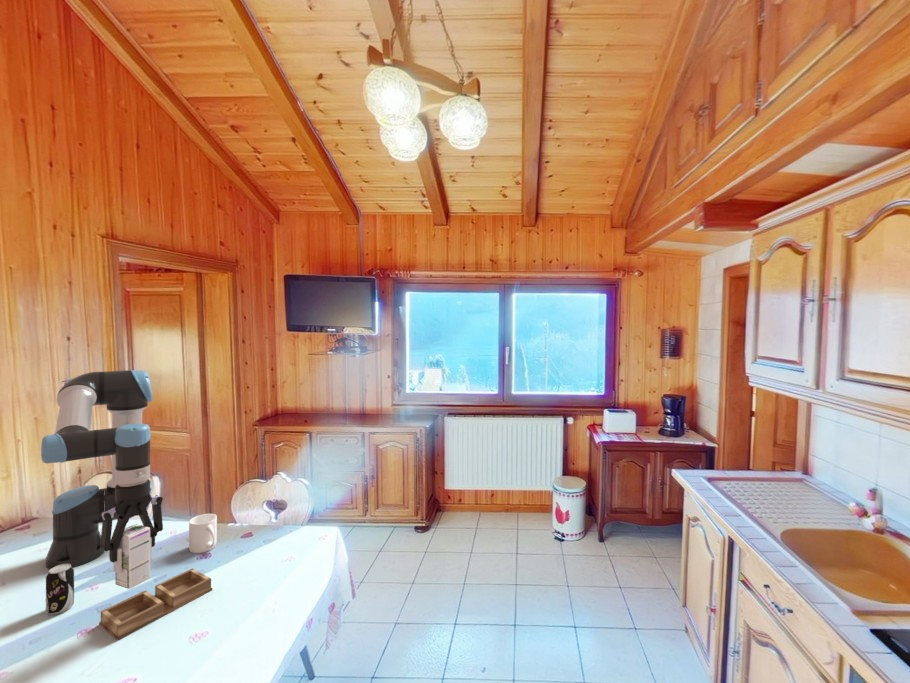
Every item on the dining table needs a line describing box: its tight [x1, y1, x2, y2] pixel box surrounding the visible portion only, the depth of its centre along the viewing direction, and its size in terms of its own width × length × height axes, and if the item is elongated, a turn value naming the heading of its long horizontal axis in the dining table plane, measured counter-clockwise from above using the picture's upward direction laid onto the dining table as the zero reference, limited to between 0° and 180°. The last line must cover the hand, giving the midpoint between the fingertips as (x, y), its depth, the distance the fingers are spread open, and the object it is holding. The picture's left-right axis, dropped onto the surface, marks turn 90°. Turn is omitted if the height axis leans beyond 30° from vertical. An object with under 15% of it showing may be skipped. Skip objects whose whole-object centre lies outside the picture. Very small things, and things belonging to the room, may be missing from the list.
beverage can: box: [45, 564, 75, 615], centre depth 115 cm, size 6×6×12 cm
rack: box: [98, 568, 213, 641], centre depth 118 cm, size 11×24×4 cm, turn 150°
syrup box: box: [114, 523, 151, 590], centre depth 111 cm, size 6×6×14 cm
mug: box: [188, 513, 218, 554], centre depth 148 cm, size 9×12×11 cm
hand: (133, 565), depth 112 cm, fingers closed on syrup box, 6 cm apart
